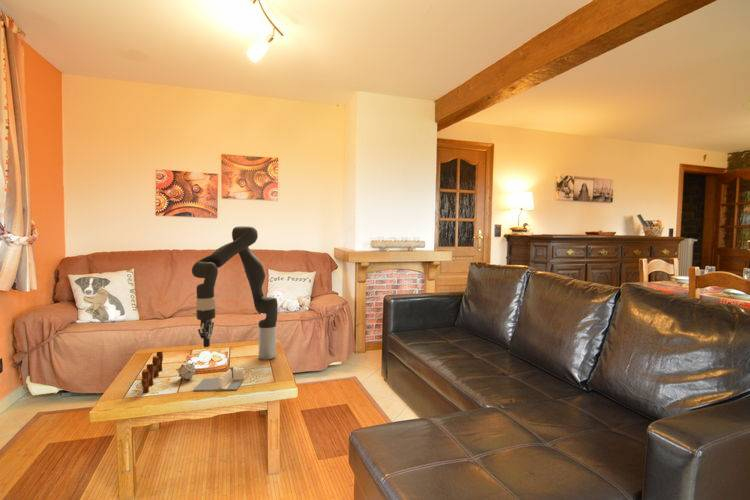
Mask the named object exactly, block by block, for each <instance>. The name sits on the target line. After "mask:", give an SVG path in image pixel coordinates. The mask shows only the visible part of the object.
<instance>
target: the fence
mask: <svg viewBox="0 0 750 500" xmlns="http://www.w3.org/2000/svg"><path fill="white" fill-rule="evenodd" d="M163 361H164V354H163V351H157V352H156V355H154V356H153V355H152V361H151V362H152V363H149V364H147V365H146V368H145V369H142V371H141V378H142V379H141V382H140V383H141V387H142V393H143V394H147V393H149V392H150V389H149V387H152V386H154V379H155V378H158V377H160V375H159V372H163Z"/></svg>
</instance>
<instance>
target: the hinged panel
mask: <svg viewBox="0 0 750 500" xmlns="http://www.w3.org/2000/svg"><path fill="white" fill-rule="evenodd" d="M218 378H219V388H223V387H224V386H225V385H226V384H227V383H228V382H229V381H230V380H231V379H232V378H234V366H230V368H229V369H227V371H225V372H224V373H223V374H222V375H221V376H220V377H218Z"/></svg>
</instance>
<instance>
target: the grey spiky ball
mask: <svg viewBox="0 0 750 500" xmlns="http://www.w3.org/2000/svg"><path fill="white" fill-rule="evenodd" d="M195 366H196V365H194V362H192V363H190V362H186V361H185V360H184V363H182V364H181V365H180V366H179V368H177V369H175V371H177V373H178V374H179V375H178V377H179V378H180V379H179V380H182V379H183V380H188V382H189V381H190V379H191V378H192V377H194V375H195V374H196V373H199V371H197V370H196V368H195Z"/></svg>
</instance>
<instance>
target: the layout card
mask: <svg viewBox="0 0 750 500" xmlns="http://www.w3.org/2000/svg"><path fill="white" fill-rule="evenodd" d="M244 381H245V378H244V379H234V377H233V378H232V379H231V380H230V381H229V382H228V383H227V384H226V385H225V386H224V387H223V388H219V377H217V378H216V377H215V378H214V377H213V378H212V377H211V378H209V377H208V378H203V379H202V380H201V381H200V382H199V383H198V384H197V385H196V386H195V387H194V388H193V389H192V392H220V391H221V392H222V391H223V392H228V391H233V392H235V391H238V389H239V388H240V386H241V385H242V384H243V382H244Z"/></svg>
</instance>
